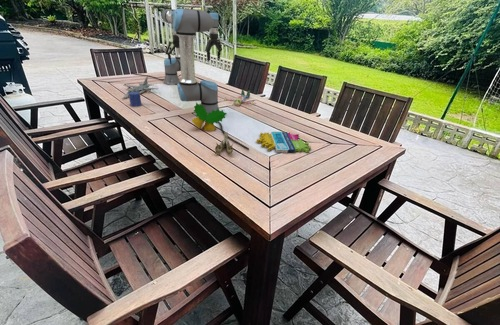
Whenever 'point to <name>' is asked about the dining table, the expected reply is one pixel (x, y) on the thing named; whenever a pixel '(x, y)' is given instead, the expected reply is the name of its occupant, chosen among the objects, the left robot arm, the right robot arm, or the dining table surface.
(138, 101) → the cylinder
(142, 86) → the airplane
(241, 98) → the toy
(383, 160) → the dining table surface
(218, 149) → the jawbone
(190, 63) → the right robot arm
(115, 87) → the dining table surface
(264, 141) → the packaged colorful gloves
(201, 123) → the ornament
